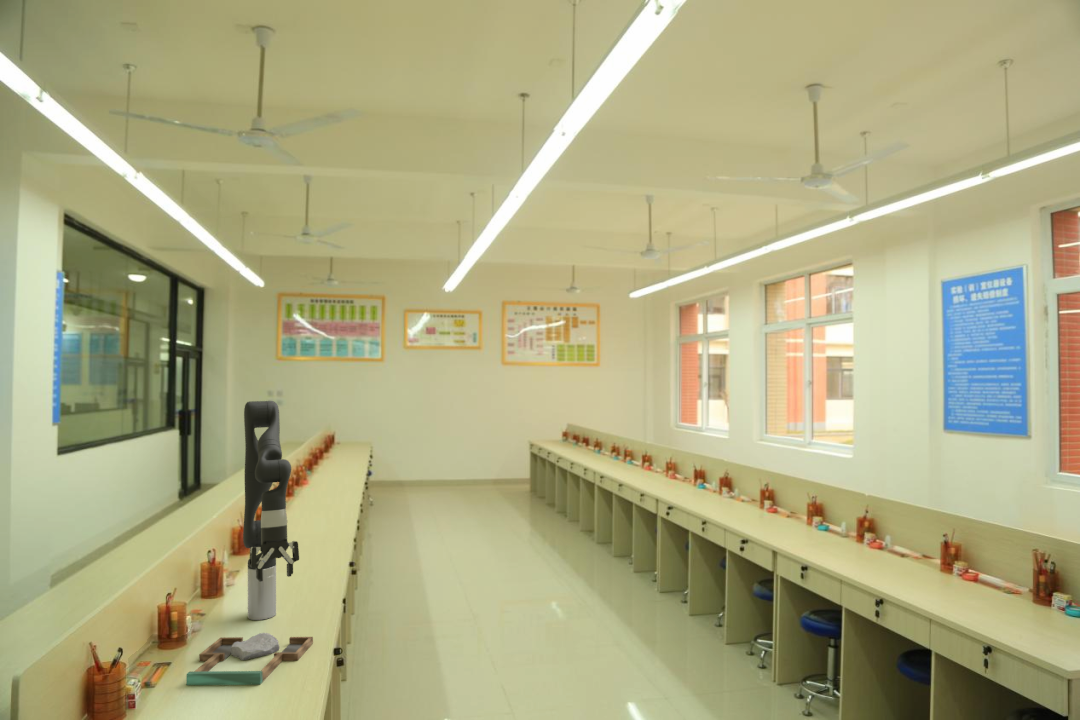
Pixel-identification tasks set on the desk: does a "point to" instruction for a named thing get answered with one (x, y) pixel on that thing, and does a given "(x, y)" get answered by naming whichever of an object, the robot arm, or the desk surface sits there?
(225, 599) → the desk surface
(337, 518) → the desk surface
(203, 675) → the trap lane
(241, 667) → the desk surface
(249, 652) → the stone block
